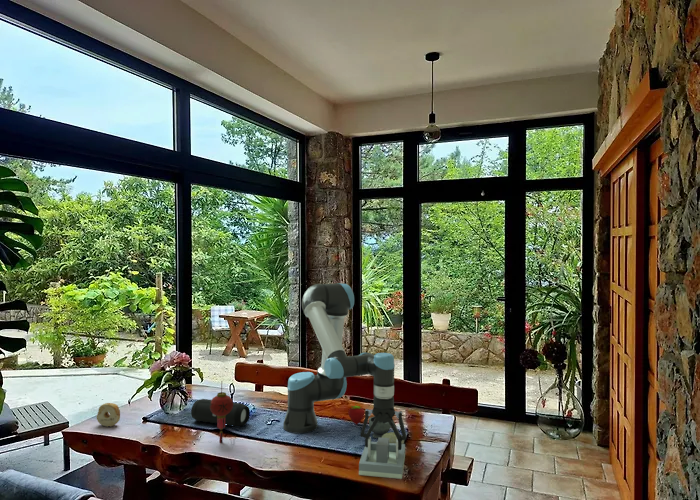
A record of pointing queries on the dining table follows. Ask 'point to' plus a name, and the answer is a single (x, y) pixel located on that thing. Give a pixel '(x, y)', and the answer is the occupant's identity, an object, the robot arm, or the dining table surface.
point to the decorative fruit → (356, 414)
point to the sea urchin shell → (391, 437)
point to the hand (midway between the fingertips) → (383, 456)
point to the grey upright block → (382, 450)
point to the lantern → (221, 409)
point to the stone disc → (104, 416)
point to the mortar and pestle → (379, 428)
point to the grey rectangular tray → (389, 469)
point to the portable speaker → (203, 413)
